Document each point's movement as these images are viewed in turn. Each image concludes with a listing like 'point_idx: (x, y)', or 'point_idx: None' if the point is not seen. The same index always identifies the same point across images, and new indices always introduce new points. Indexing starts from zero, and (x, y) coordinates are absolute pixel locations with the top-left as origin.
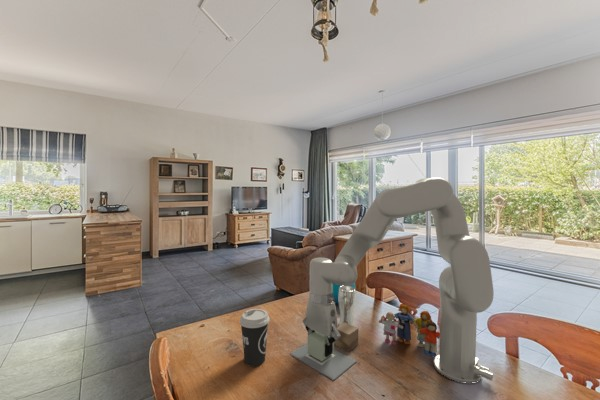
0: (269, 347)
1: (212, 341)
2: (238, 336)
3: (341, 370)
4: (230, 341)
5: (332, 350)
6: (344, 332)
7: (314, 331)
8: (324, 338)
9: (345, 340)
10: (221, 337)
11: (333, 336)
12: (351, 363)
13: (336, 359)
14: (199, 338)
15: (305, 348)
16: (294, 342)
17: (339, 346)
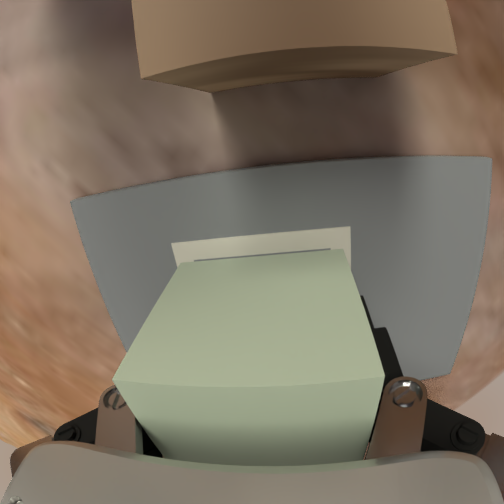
0: (71, 394)
1: (24, 431)
2: (3, 393)
3: (459, 309)
4: (25, 417)
5: (388, 333)
6: (366, 40)
7: (151, 439)
8: (335, 460)
9: (363, 66)
10: (8, 413)
11: (379, 361)
12: (482, 212)
13: (386, 257)
14: (12, 431)
15: (141, 322)
16: (58, 307)
17: (270, 81)
